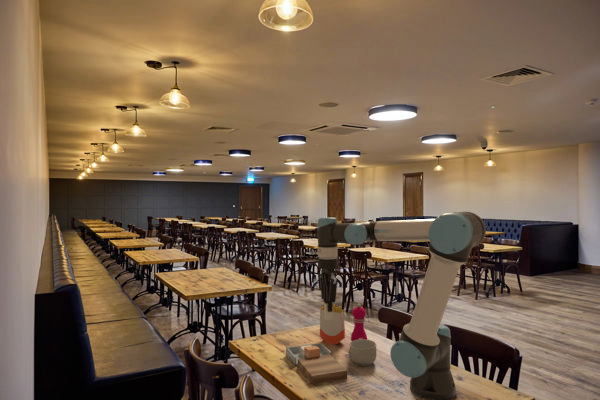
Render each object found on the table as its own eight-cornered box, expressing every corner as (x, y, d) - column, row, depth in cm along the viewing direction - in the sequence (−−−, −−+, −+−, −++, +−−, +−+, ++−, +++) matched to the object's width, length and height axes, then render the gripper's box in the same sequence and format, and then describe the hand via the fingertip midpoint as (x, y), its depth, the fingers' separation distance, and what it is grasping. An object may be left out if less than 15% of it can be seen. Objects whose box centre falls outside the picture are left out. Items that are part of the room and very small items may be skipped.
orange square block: (320, 356, 162) (319, 348, 162) (308, 357, 160) (308, 350, 161) (315, 353, 167) (315, 345, 167) (304, 354, 165) (304, 347, 165)
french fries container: (324, 338, 191) (324, 300, 191) (345, 342, 185) (345, 304, 185) (319, 341, 187) (319, 302, 187) (340, 346, 181) (340, 306, 181)
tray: (331, 360, 165) (331, 352, 165) (294, 366, 159) (294, 357, 159) (320, 350, 176) (320, 342, 176) (286, 355, 170) (286, 347, 170)
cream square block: (315, 356, 167) (315, 349, 167) (304, 358, 165) (304, 350, 165) (311, 352, 172) (311, 345, 172) (300, 353, 170) (300, 346, 170)
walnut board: (347, 378, 149) (347, 370, 149) (312, 384, 144) (312, 375, 144) (329, 361, 164) (330, 354, 164) (297, 366, 159) (297, 359, 159)
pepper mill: (352, 344, 183) (352, 300, 183) (368, 346, 181) (368, 302, 181) (349, 350, 176) (349, 305, 176) (365, 352, 174) (365, 306, 174)
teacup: (376, 369, 157) (376, 349, 157) (348, 367, 159) (348, 347, 159) (376, 355, 170) (376, 337, 170) (351, 353, 172) (351, 335, 172)
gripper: (312, 256, 158) (313, 316, 158) (325, 260, 146) (326, 325, 146) (329, 255, 161) (330, 314, 161) (344, 259, 149) (345, 323, 149)
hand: (328, 319), depth 154 cm, fingers closed
